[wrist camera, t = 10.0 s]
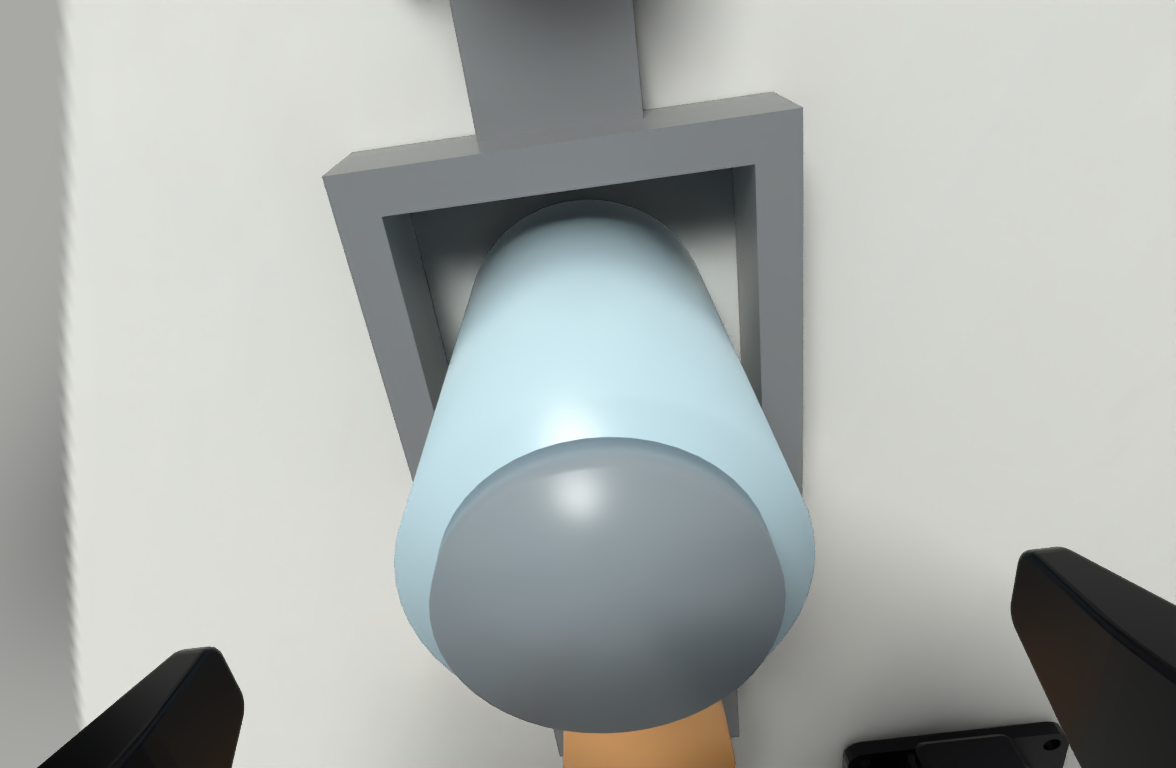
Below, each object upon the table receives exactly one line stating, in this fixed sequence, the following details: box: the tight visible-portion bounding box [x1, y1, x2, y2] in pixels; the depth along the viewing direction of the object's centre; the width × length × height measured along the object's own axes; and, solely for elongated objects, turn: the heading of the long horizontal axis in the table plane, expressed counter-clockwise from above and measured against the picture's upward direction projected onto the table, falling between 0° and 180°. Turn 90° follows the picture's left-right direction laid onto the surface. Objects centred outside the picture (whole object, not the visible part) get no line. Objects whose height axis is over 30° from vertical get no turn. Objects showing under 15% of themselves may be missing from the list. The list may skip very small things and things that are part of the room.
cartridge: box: [394, 200, 815, 733], centre depth 12 cm, size 5×5×9 cm
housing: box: [322, 0, 803, 756], centre depth 15 cm, size 25×8×2 cm, turn 8°
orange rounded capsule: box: [563, 700, 735, 768], centre depth 19 cm, size 4×4×4 cm
